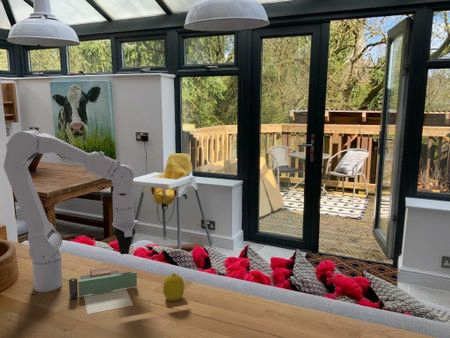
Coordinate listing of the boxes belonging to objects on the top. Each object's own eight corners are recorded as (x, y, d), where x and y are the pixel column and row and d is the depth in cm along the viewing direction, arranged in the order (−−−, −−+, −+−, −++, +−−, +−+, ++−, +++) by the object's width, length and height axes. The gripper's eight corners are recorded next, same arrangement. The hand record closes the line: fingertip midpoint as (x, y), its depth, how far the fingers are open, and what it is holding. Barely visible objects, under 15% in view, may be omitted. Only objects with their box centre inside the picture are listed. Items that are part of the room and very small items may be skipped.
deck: (80, 279, 111) (80, 276, 111) (118, 273, 116) (118, 270, 116) (87, 317, 91) (87, 314, 91) (133, 308, 96) (133, 305, 96)
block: (90, 281, 108) (90, 267, 108) (108, 278, 110) (108, 265, 110) (92, 288, 104) (92, 275, 103) (111, 285, 106) (110, 272, 105)
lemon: (184, 296, 103) (185, 269, 101) (183, 307, 97) (183, 278, 96) (164, 296, 102) (164, 268, 101) (161, 307, 97) (161, 277, 96)
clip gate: (78, 294, 99) (78, 279, 99) (135, 284, 106) (135, 270, 105) (79, 296, 98) (78, 281, 98) (136, 286, 105) (136, 272, 104)
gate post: (69, 300, 99) (68, 279, 98) (77, 299, 100) (76, 277, 99) (70, 304, 97) (69, 282, 96) (78, 302, 98) (77, 280, 97)
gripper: (143, 212, 101) (144, 260, 103) (132, 200, 114) (133, 243, 116) (116, 214, 98) (117, 264, 100) (108, 201, 111) (109, 246, 113)
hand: (124, 253), depth 108 cm, fingers closed
